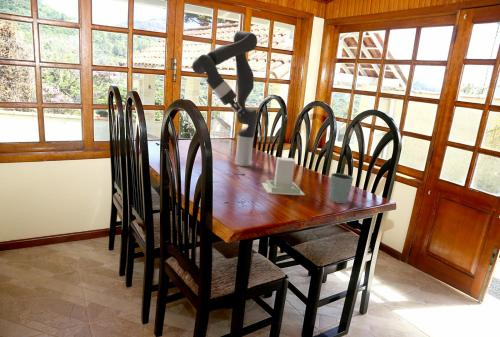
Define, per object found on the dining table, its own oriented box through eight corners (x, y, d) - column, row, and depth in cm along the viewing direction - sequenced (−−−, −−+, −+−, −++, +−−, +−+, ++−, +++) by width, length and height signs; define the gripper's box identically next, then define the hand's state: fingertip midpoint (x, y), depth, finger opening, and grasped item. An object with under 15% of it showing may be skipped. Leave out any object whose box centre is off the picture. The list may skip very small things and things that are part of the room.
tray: (261, 184, 176) (262, 179, 175) (295, 186, 179) (296, 181, 179) (267, 193, 163) (268, 188, 162) (304, 195, 166) (305, 190, 165)
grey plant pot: (338, 205, 158) (343, 179, 155) (322, 197, 166) (326, 173, 163) (352, 202, 164) (357, 178, 161) (336, 195, 172) (340, 172, 169)
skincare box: (289, 187, 174) (293, 158, 171) (291, 190, 169) (296, 161, 165) (272, 185, 174) (276, 156, 170) (274, 189, 168) (278, 159, 164)
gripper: (232, 88, 161) (254, 116, 166) (229, 87, 174) (249, 112, 179) (220, 99, 161) (241, 126, 166) (217, 96, 175) (237, 121, 180)
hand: (245, 119), depth 173 cm, fingers open, 8 cm apart
